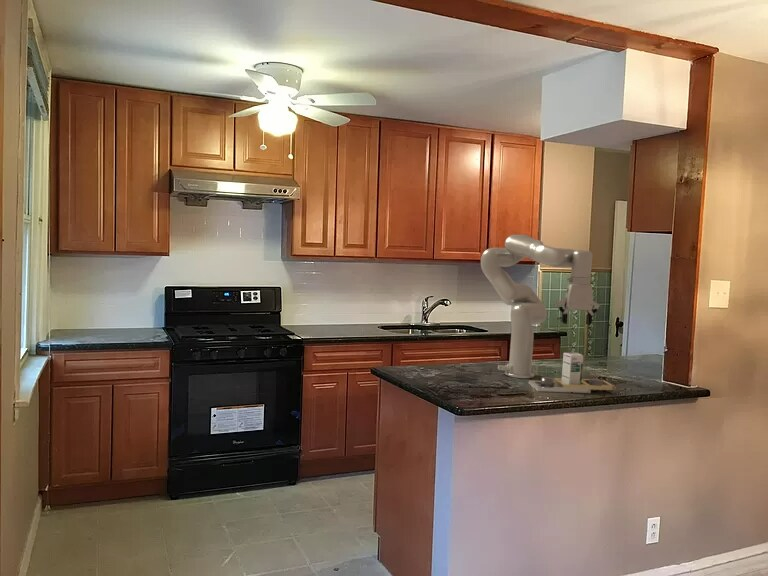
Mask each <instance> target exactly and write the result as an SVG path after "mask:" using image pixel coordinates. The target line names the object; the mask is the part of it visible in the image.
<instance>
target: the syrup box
mask: <svg viewBox="0 0 768 576" xmlns="http://www.w3.org/2000/svg"><path fill="white" fill-rule="evenodd" d="M562 355H563V356H562V357H563V358H562V370H561V371H562V373H561V378H562V382H563V383H565V384H581V382H582V379H583V366H584V354H581V353H579V352H563V354H562Z"/></svg>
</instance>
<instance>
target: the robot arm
mask: <svg viewBox="0 0 768 576" xmlns="http://www.w3.org/2000/svg"><path fill="white" fill-rule="evenodd" d="M525 258H527V259H530V260H533V261H534V262H536V263H539V264H542V265H545V266H549V267H552V268H571V269H570V271H571V272H570V277H567V278H566V282H569V283H568V284H567V288H566V291H565V296H564V298H563V299H561V300H558V301H556V305H557V309H558V310H559V311H560V313H561V322H562V324H563V325H567V323H568V314H567V313H568V312H569V311H570V310H571V311H586V312H587V314H586V319H585V324H586V325H587V326H591V324H592V322H593V316H594V314H596V313H597V311H598V309H599V308H600V306H601V305H600V304H599V303H598V302H596V301H595V300H594V298H593V297H594V296H593V295H594V294H593V285H591V275H592V266H593V265H592V263H593V252H592V251H589V250H582V249H581V250H577V249H571V248H559V247H558V248H557V247H554V246H553V247H552V246H550V245H549V246H548V245H545V244H544V242H543V241H542V240H539V239H536V238H533V237H532V236H530V235H525V234H511V235H509V236H508V237H507V238H506V239H505V241H504V247H490V248H487V249H486V250H484V251H483V253H482V254H481V257H480V268H481V270H482V273H483V275H485V277H486V278H487V280H488V281H489V283H490V284H491V285H492V287H493V288H494V290H495V292H496V293H497V294H498V295H499V297H500V299H501V300H502V301H503V303H504V304H505V305H507V306H513V307H512V309H510V324H511V332H510V333H511V334H510V345H509V347H510V349H509V362H507V363H506V364H505V365H502V364H501V365H500V364H498V365H497V370H499V371H504V374H505V375H506V376H508V377H512V378H515V379H516V378H517V379H533V378H534V377H535V373H534V372H533V371H532V363H533V350H534V338H535V337H534V336H535V335H534V329H533V325H538V324H542V323H544V322H545V321H546V318H547V316H548V314H547V313H548V311H547V308H546V306H545V304H544V303H543V301H542V300H541V299H540V297H539V295H537V294H536V292H535V291H534V289H533V288H532V287H531V286H529V285H528V284H524V283H516V282H515V281H514V280H513V279H512V278H511V276H510V275H509V274H508V272H507V271H505V270H504V269H503V267H505V268H506V267H507V268H508V267H512V266H514V265H516V264H517V263H519V262H520V261H522V260H523V259H525ZM562 304H564V305H563V306H564V307H563V306H562Z"/></svg>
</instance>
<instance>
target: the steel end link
mask: <svg viewBox="0 0 768 576" xmlns="http://www.w3.org/2000/svg"><path fill="white" fill-rule="evenodd" d="M554 378H555V377H549V376H542V377H540V380H530V379H529V380H528V385H529V384H530V385H531V386H530V385H529V386H530V387H531V388H533V389H534V388H535V389H536V390H535V389H534V390H535V391H536V392H544V393H546V392H547V393H548V392H549V393H550V392H551V393H571V392H573V394H575V393H578V394H591V393H592V391H591V389H564V388H561V387H560V386H559V385H557V384H556V383H554ZM554 386H555V387H554Z"/></svg>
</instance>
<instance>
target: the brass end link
mask: <svg viewBox="0 0 768 576" xmlns="http://www.w3.org/2000/svg"><path fill="white" fill-rule="evenodd" d="M553 378H554V383H556V384H557V385H559V386H560V387H561V388H564V389H591V390H592V391H591V392H598V391H600V392H602V391H605V392H607V391H608V392H607V393H609V392H610V393H609V394H611V393H612V394H611V395H615V394H616V387H617V386H616V385H613V384H612V383H610V382H608V381H607V380H605V379H599V378H582V382H581V384H565V383H563V382H562V377H553Z"/></svg>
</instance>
